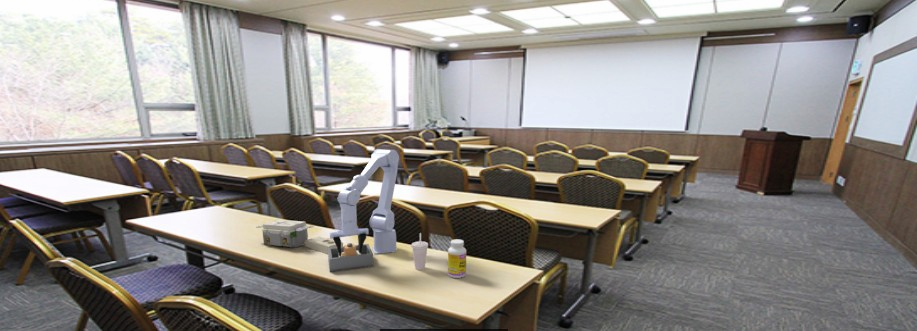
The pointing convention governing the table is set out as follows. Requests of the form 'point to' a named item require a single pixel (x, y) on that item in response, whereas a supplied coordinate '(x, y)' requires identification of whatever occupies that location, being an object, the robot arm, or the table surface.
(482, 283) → the table surface
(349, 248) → the plug
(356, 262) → the bay
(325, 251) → the electrical outlet
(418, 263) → the smoothie
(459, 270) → the supplement bottle
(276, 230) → the grey latched case
